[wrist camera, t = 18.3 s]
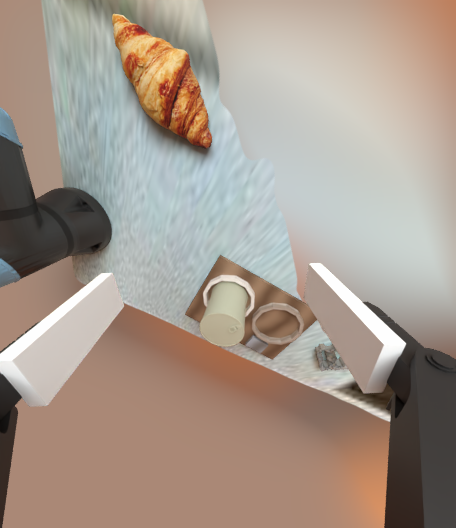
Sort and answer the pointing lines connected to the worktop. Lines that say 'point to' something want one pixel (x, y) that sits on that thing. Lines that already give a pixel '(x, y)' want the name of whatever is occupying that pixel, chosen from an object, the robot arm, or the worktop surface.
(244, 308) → the can
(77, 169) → the worktop surface
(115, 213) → the worktop surface
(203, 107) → the croissant
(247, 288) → the ring
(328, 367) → the egg carton
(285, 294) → the walnut board
